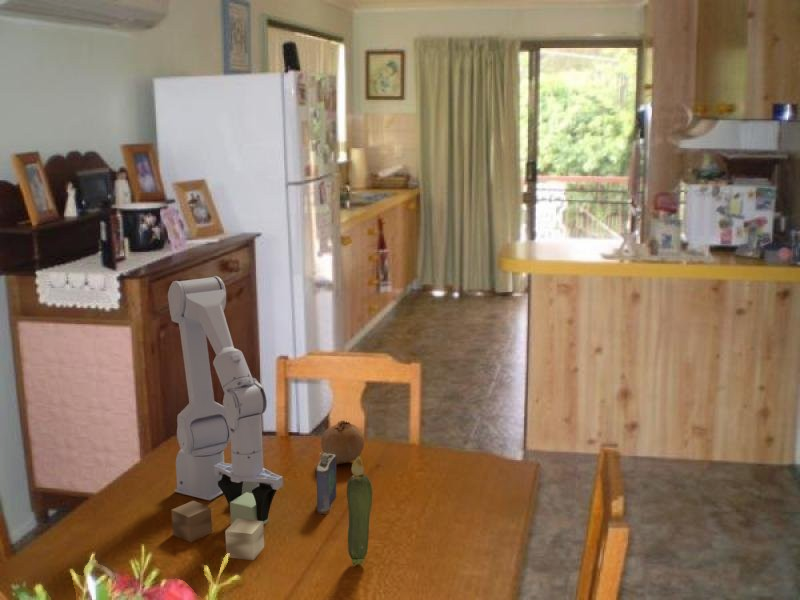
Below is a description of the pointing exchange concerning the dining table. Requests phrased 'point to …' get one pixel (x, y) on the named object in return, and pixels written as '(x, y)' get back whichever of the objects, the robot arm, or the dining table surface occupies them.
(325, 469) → the flask
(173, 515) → the walnut cube
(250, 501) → the green cube
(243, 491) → the grey cube
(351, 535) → the vegetable
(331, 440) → the onion
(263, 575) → the dining table surface
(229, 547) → the cream cube
